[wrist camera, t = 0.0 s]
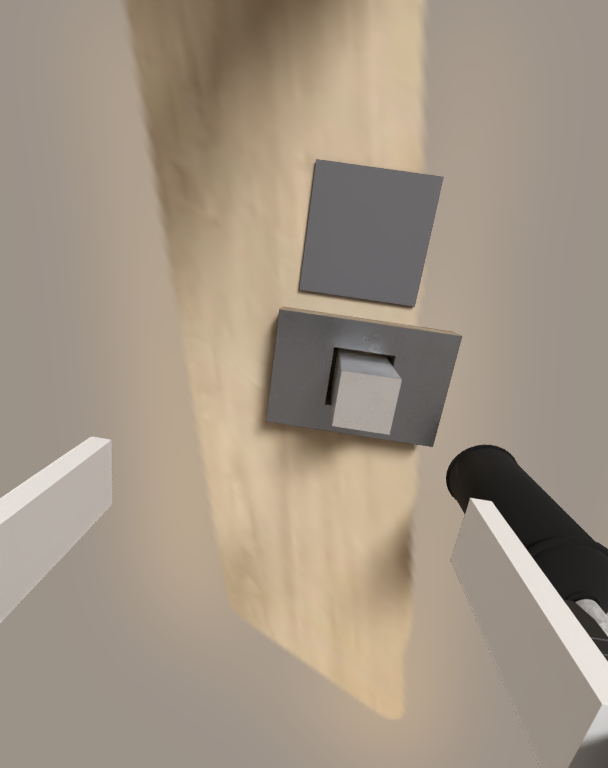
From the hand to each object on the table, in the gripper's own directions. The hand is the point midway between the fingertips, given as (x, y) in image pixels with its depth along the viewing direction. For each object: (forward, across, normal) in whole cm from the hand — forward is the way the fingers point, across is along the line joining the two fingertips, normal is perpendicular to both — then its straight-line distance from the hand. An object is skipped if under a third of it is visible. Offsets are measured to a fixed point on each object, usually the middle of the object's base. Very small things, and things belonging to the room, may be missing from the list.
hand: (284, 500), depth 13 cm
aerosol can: (+28, +22, -12) cm, 37 cm away
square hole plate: (+28, +5, -2) cm, 28 cm away
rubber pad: (+28, +4, +12) cm, 31 cm away
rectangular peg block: (+28, +5, -2) cm, 29 cm away
